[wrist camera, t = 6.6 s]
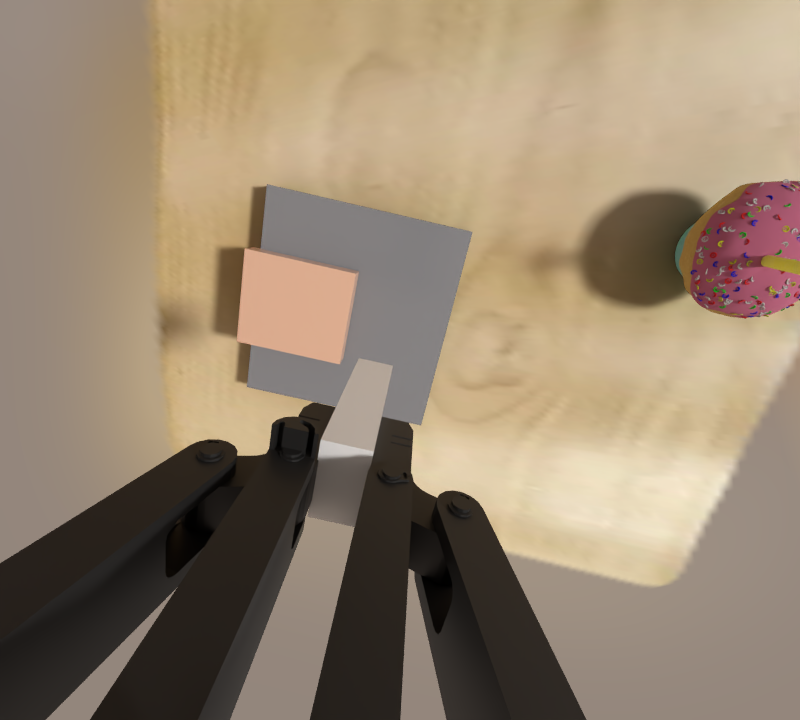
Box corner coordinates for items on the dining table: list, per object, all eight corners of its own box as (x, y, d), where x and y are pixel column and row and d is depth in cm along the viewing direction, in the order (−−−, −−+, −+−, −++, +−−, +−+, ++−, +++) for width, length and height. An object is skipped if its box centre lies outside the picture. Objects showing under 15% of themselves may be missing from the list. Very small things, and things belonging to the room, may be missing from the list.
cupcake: (656, 319, 32) (789, 373, 20) (639, 211, 29) (779, 202, 18) (774, 283, 30) (987, 319, 19) (767, 167, 28) (1006, 128, 16)
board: (274, 186, 30) (266, 184, 28) (470, 231, 30) (472, 232, 29) (254, 380, 35) (247, 387, 34) (420, 417, 35) (420, 425, 34)
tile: (359, 270, 30) (254, 247, 30) (355, 273, 28) (244, 248, 28) (343, 357, 32) (246, 335, 32) (339, 364, 31) (236, 341, 30)
